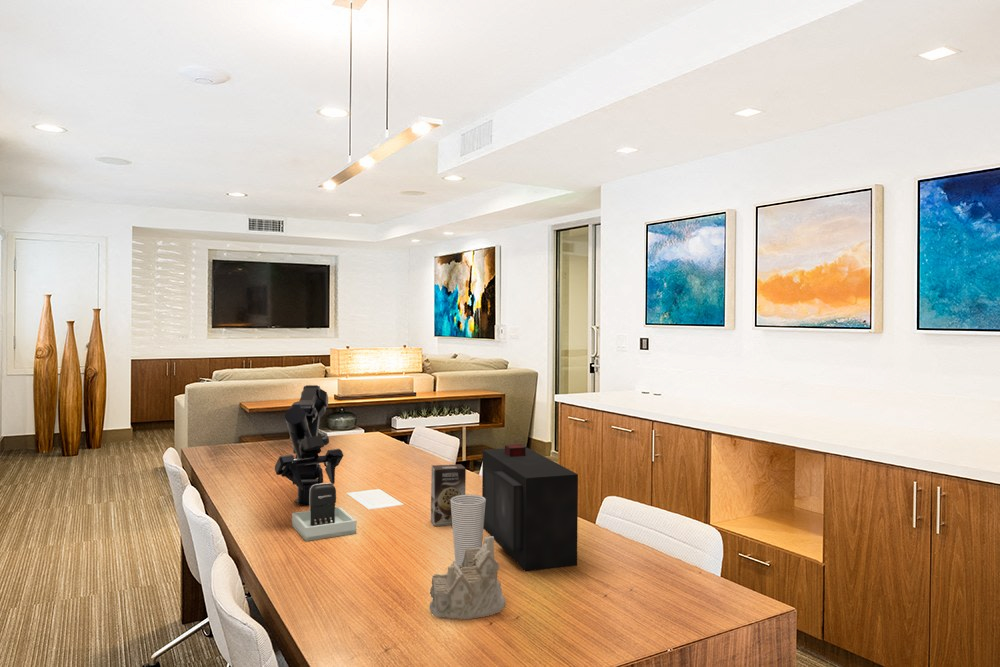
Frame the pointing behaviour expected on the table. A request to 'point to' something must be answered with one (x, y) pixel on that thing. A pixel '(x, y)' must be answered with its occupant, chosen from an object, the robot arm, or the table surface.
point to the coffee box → (445, 491)
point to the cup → (467, 523)
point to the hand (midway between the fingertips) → (318, 486)
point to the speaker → (530, 507)
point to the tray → (324, 525)
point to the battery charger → (322, 504)
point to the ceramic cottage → (469, 586)
